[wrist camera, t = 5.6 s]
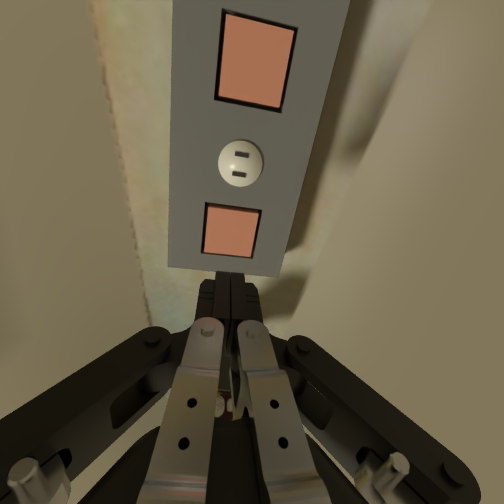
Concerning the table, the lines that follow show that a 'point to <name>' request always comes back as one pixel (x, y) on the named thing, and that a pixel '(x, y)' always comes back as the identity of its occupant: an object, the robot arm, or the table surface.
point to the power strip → (243, 128)
